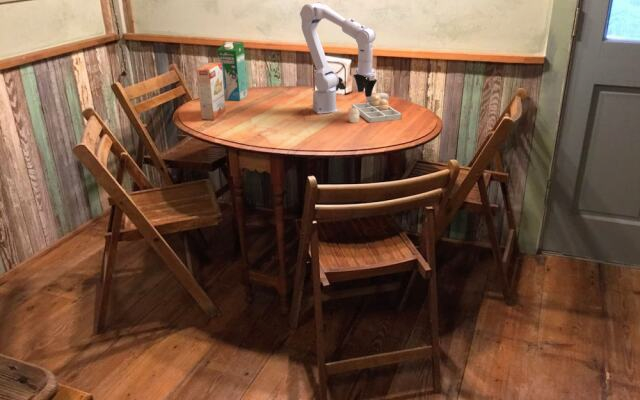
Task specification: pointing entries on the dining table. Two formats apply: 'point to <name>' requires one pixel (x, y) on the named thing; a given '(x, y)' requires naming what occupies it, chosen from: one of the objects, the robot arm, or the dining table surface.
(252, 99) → the dining table surface
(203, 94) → the cracker box
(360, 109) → the egg carton
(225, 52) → the milk carton
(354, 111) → the cream egg
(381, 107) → the brown egg
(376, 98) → the brown egg
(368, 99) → the donut
